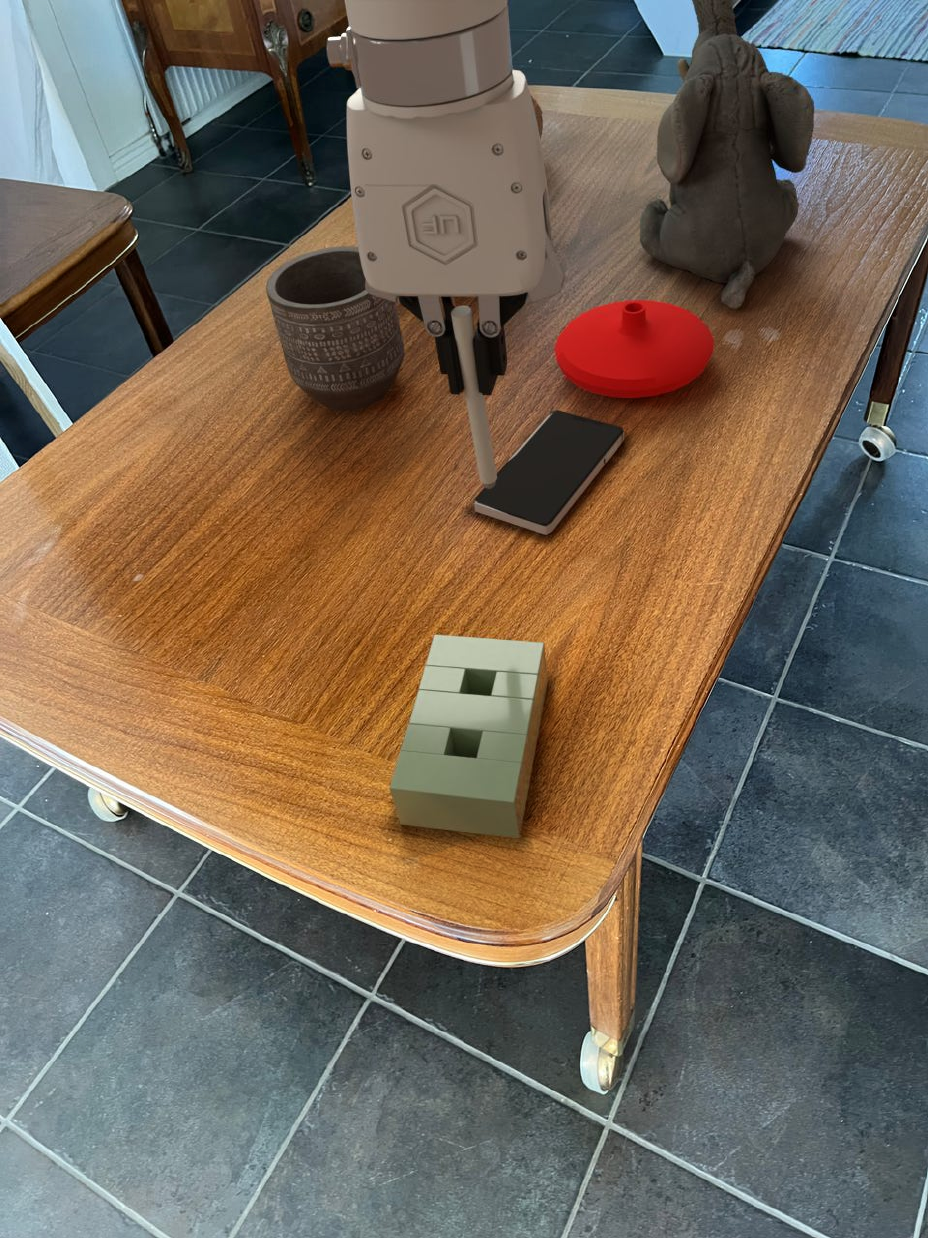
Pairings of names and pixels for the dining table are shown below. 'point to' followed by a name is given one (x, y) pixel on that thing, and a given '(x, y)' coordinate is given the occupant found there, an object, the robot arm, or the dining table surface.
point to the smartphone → (550, 471)
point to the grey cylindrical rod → (474, 395)
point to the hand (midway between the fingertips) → (475, 380)
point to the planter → (335, 329)
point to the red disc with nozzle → (634, 349)
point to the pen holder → (472, 736)
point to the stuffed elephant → (727, 159)
